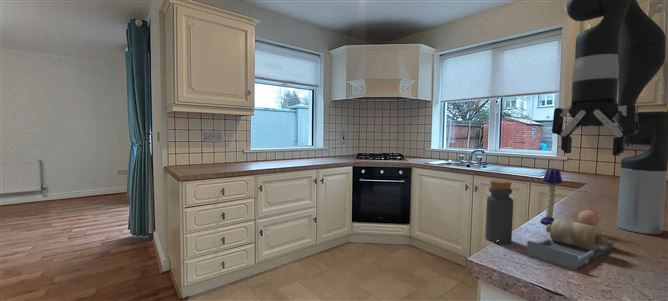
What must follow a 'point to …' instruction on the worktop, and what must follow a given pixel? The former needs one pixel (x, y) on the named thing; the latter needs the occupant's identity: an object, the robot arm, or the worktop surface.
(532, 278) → the worktop surface
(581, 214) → the ball
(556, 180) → the toy lamp
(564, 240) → the maple rolling pin
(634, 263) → the worktop surface
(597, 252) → the grey long tray
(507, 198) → the bottle
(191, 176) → the worktop surface
